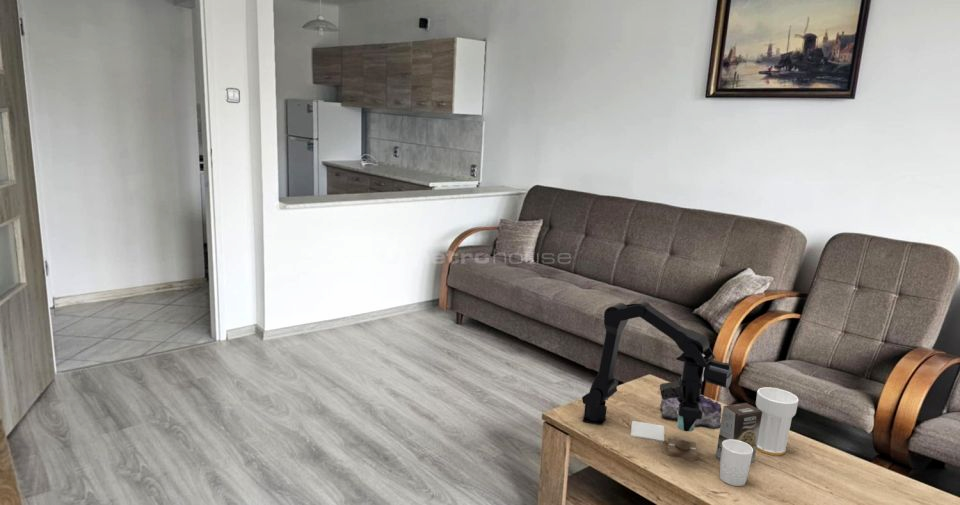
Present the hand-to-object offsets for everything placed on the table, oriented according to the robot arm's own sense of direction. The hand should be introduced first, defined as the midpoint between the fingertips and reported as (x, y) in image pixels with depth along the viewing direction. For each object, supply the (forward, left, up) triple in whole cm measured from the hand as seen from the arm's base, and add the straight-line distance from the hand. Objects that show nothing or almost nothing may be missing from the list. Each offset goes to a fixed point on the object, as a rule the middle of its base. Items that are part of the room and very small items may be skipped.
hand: (685, 427), depth 185 cm
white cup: (+13, -11, -8) cm, 19 cm away
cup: (+26, +12, -8) cm, 30 cm away
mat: (-10, +9, -8) cm, 16 cm away
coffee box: (+15, +1, -8) cm, 17 cm away
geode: (+3, +24, -8) cm, 25 cm away
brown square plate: (0, 0, -8) cm, 8 cm away
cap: (0, 0, 0) cm, 0 cm away
